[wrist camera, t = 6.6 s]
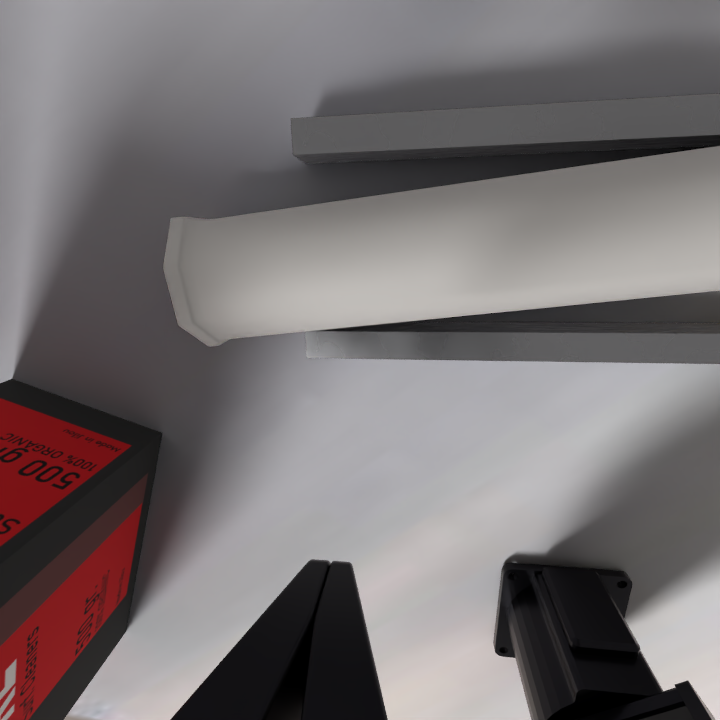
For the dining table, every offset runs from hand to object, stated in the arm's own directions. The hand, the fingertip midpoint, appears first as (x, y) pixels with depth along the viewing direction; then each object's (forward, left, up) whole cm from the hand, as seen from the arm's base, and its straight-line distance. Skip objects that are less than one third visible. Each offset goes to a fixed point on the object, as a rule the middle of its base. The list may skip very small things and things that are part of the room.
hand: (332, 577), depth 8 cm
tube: (+6, -5, -12) cm, 15 cm away
